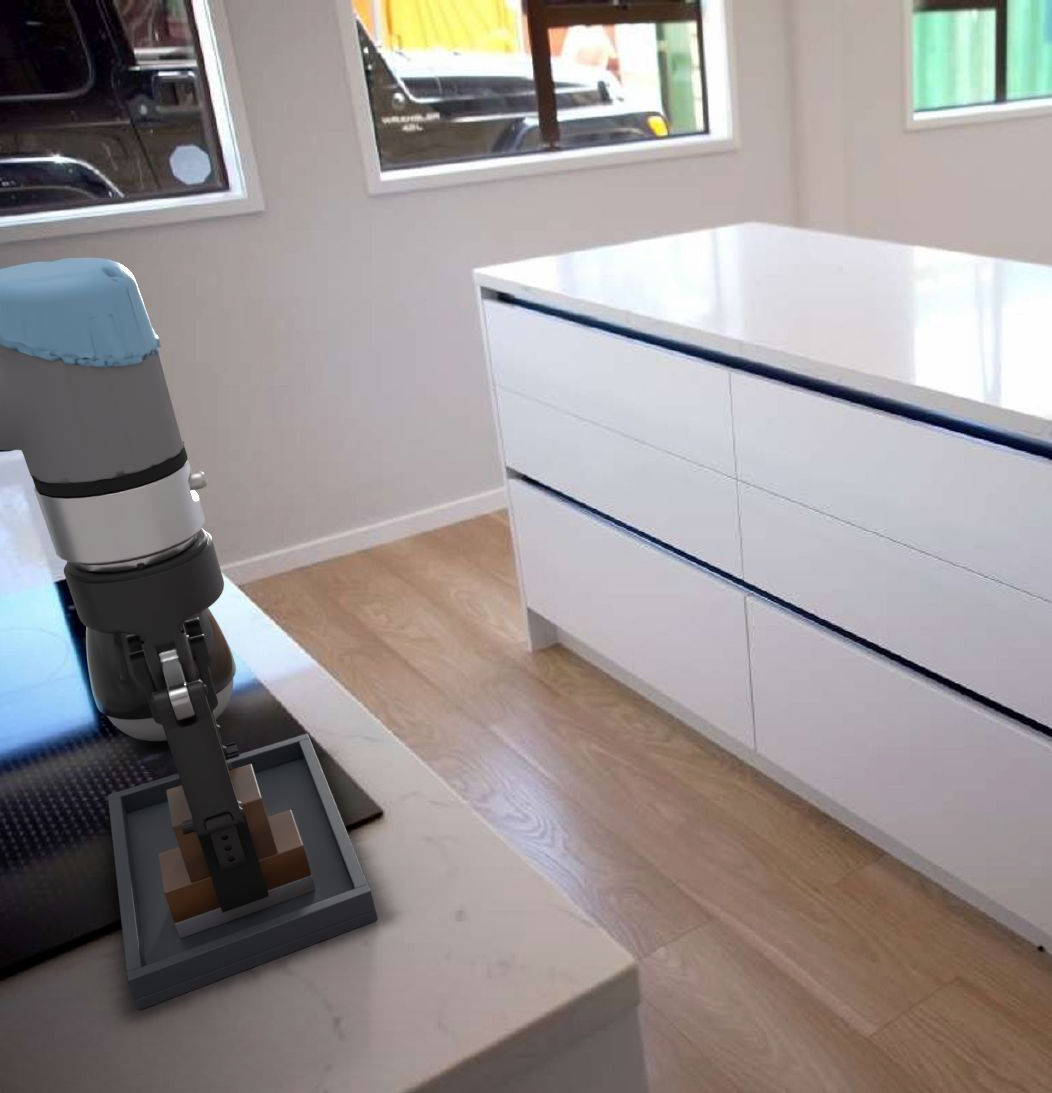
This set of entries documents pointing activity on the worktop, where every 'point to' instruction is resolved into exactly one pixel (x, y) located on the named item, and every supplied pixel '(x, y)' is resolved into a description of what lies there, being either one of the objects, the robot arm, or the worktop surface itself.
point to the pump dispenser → (128, 697)
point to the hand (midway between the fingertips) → (239, 877)
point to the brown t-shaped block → (274, 849)
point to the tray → (258, 937)
